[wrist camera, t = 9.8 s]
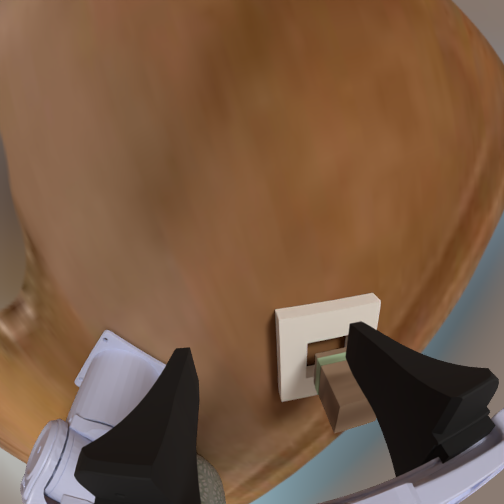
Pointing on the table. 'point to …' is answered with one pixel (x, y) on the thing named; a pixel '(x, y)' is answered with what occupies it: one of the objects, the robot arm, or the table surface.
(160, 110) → the table surface
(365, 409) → the post
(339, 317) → the sleeve block
